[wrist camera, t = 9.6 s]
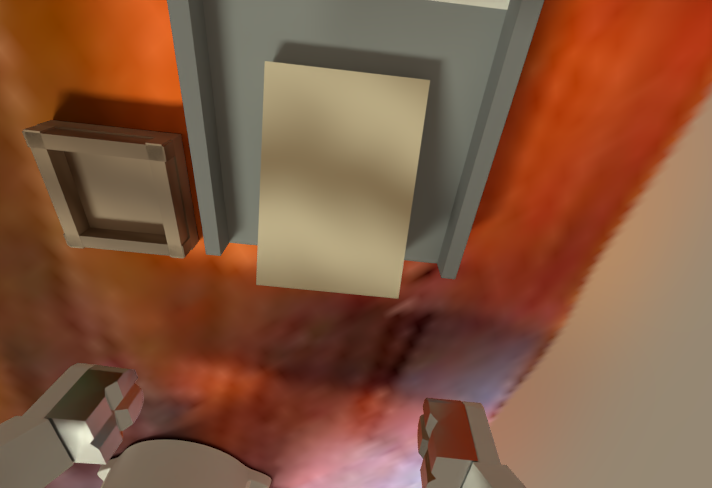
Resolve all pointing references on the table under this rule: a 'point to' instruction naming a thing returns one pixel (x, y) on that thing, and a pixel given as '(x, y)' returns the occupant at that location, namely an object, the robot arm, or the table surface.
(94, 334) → the table surface
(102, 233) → the brown square wooden tray
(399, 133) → the ramp
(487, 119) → the grey railed platform
